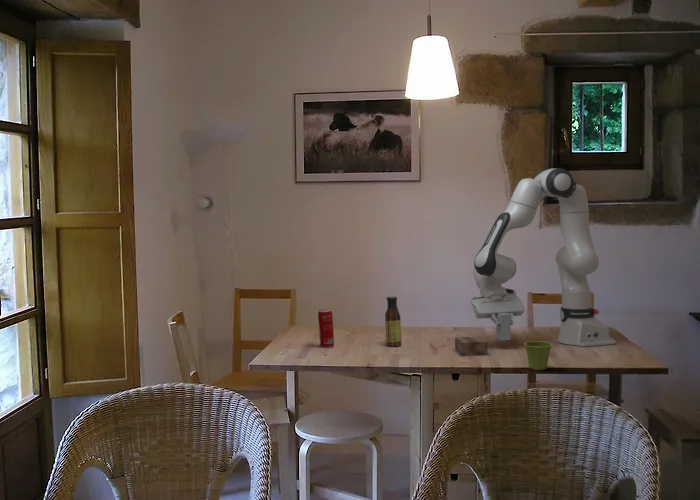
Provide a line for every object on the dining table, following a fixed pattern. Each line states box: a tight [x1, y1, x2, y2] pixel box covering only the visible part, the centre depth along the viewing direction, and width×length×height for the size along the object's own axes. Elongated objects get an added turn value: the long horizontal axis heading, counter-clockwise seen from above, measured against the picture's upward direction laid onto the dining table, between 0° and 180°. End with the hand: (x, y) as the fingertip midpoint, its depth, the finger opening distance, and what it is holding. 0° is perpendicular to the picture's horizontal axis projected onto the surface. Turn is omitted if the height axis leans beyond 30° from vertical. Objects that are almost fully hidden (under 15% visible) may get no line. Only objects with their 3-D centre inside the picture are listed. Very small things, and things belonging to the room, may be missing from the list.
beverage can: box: [317, 308, 335, 349], centre depth 296 cm, size 6×6×15 cm
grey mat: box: [452, 349, 492, 358], centre depth 281 cm, size 12×12×1 cm
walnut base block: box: [454, 336, 489, 357], centre depth 280 cm, size 10×10×5 cm
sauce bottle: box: [384, 295, 402, 348], centre depth 296 cm, size 7×6×20 cm
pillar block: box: [495, 313, 512, 341], centre depth 286 cm, size 4×4×10 cm
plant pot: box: [524, 340, 553, 371], centre depth 256 cm, size 9×9×9 cm
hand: (505, 324), depth 285 cm, fingers closed on pillar block, 4 cm apart
